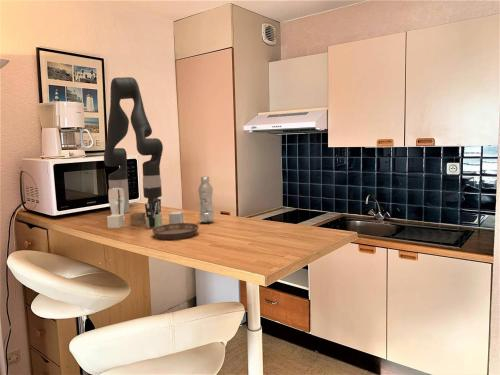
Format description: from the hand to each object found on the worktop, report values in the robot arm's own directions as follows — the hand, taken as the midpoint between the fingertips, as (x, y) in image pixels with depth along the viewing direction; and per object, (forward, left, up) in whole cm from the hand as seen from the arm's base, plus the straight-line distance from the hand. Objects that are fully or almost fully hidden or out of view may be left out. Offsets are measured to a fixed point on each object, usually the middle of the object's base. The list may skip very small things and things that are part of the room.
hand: (154, 224), depth 169 cm
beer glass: (-13, -22, -1) cm, 25 cm away
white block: (0, -17, -1) cm, 17 cm away
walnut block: (-4, -9, -1) cm, 9 cm away
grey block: (-4, +8, -1) cm, 9 cm away
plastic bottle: (-6, +21, -1) cm, 22 cm away
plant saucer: (+16, +13, -1) cm, 21 cm away
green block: (0, 0, -1) cm, 1 cm away
